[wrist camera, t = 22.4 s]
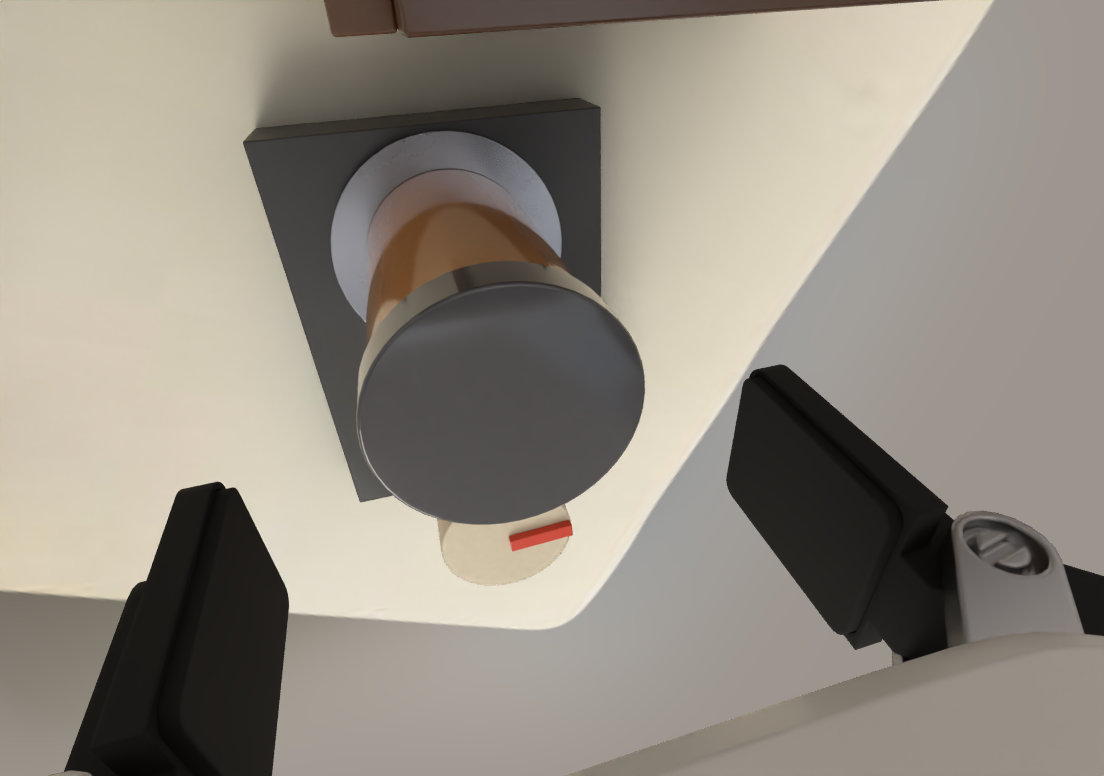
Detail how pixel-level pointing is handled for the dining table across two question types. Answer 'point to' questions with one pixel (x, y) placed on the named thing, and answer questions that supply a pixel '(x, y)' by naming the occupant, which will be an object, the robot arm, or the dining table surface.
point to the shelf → (539, 13)
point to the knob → (504, 547)
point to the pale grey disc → (416, 159)
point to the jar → (485, 359)
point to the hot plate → (323, 171)
